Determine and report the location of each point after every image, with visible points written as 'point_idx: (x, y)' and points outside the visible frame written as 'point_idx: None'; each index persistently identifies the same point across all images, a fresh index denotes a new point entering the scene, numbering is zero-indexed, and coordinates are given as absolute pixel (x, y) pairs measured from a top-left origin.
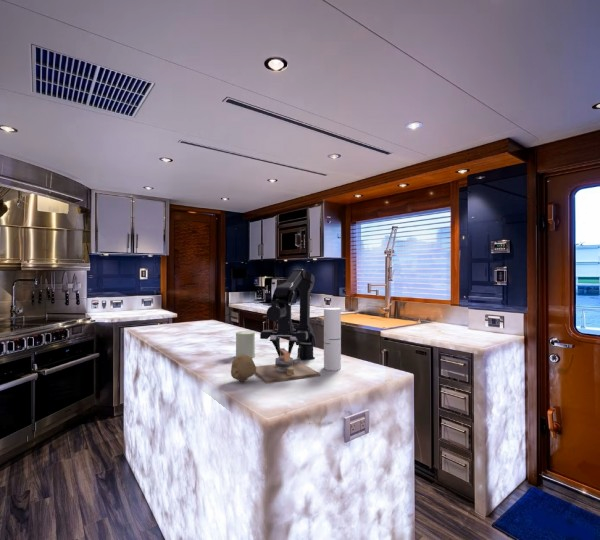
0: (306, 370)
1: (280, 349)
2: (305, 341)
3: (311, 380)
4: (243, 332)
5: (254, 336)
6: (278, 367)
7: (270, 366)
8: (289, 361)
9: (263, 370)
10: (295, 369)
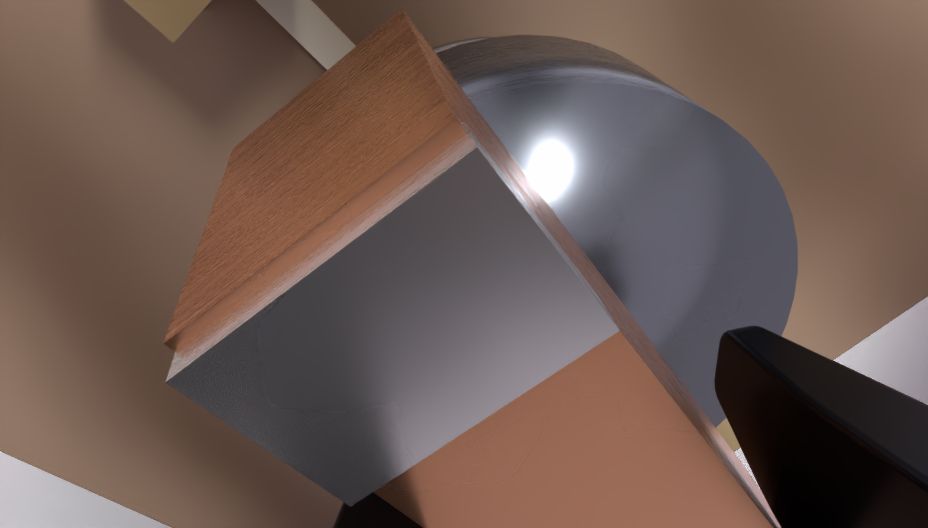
0: (926, 75)
1: (386, 453)
2: None
3: (922, 362)
4: None
5: None
6: (271, 53)
7: (10, 35)
8: (709, 406)
9: (104, 368)
10: (704, 79)
